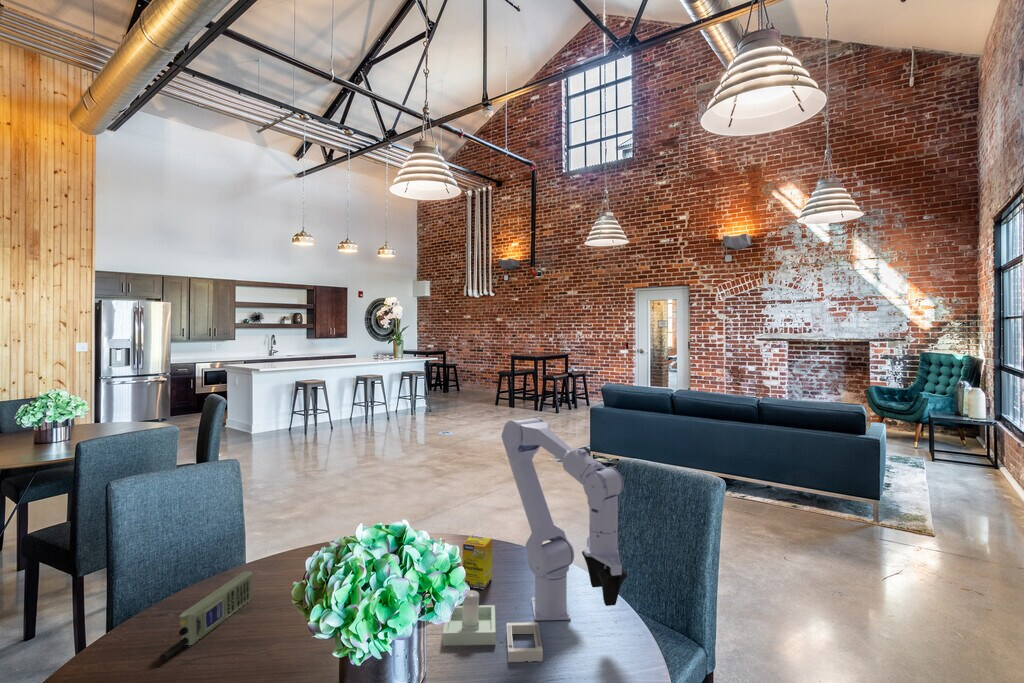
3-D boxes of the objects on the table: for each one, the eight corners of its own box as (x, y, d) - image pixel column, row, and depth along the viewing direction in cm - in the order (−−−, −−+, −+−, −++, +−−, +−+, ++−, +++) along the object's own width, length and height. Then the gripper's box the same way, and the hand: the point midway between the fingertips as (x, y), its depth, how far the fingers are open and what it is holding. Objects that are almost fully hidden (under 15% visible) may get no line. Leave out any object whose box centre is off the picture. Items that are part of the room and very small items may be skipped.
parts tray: (447, 617, 113) (447, 606, 113) (494, 616, 113) (494, 605, 113) (442, 645, 102) (442, 633, 102) (495, 644, 102) (495, 632, 102)
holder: (506, 632, 107) (506, 621, 107) (537, 631, 107) (537, 620, 107) (508, 662, 97) (508, 650, 97) (542, 661, 97) (542, 649, 97)
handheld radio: (255, 599, 120) (170, 665, 96) (242, 599, 121) (155, 664, 96) (254, 571, 120) (169, 629, 96) (241, 571, 121) (154, 629, 96)
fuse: (462, 622, 109) (462, 590, 109) (479, 622, 109) (479, 590, 109) (461, 632, 106) (461, 598, 106) (478, 632, 106) (478, 598, 106)
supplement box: (461, 587, 126) (462, 543, 127) (470, 576, 132) (470, 534, 132) (484, 590, 125) (484, 546, 125) (492, 580, 130) (492, 537, 131)
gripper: (573, 517, 110) (573, 580, 110) (597, 543, 96) (596, 615, 96) (604, 516, 112) (604, 578, 112) (632, 541, 97) (631, 612, 97)
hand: (603, 595), depth 104 cm, fingers open, 7 cm apart
